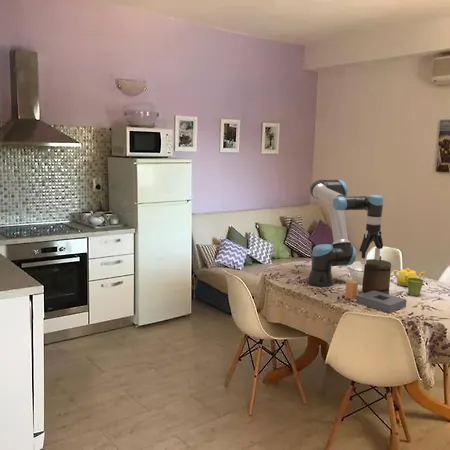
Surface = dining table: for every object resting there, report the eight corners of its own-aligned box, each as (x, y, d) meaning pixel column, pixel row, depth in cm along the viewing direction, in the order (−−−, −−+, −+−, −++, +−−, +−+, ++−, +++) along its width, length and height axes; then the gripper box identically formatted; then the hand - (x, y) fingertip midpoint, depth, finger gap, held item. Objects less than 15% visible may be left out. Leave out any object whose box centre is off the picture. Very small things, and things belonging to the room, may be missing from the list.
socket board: (356, 302, 278) (356, 295, 277) (373, 297, 288) (373, 290, 288) (389, 312, 263) (389, 305, 262) (405, 306, 273) (406, 299, 273)
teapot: (410, 281, 322) (411, 265, 320) (424, 287, 310) (425, 270, 308) (391, 282, 318) (392, 266, 316) (404, 288, 306) (405, 272, 304)
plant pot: (424, 293, 297) (425, 279, 296) (421, 298, 289) (422, 283, 288) (407, 290, 302) (408, 276, 300) (403, 295, 294) (405, 280, 292)
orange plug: (345, 297, 287) (346, 281, 285) (350, 295, 290) (351, 280, 288) (351, 299, 283) (353, 283, 282) (356, 297, 286) (358, 282, 285)
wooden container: (391, 292, 299) (395, 255, 295) (384, 298, 286) (387, 260, 283) (366, 287, 307) (369, 251, 303) (358, 293, 294) (361, 256, 290)
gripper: (367, 227, 268) (363, 267, 272) (391, 222, 285) (388, 259, 289) (354, 225, 273) (351, 264, 277) (379, 220, 290) (376, 256, 294)
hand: (370, 261), depth 283 cm, fingers open, 13 cm apart
